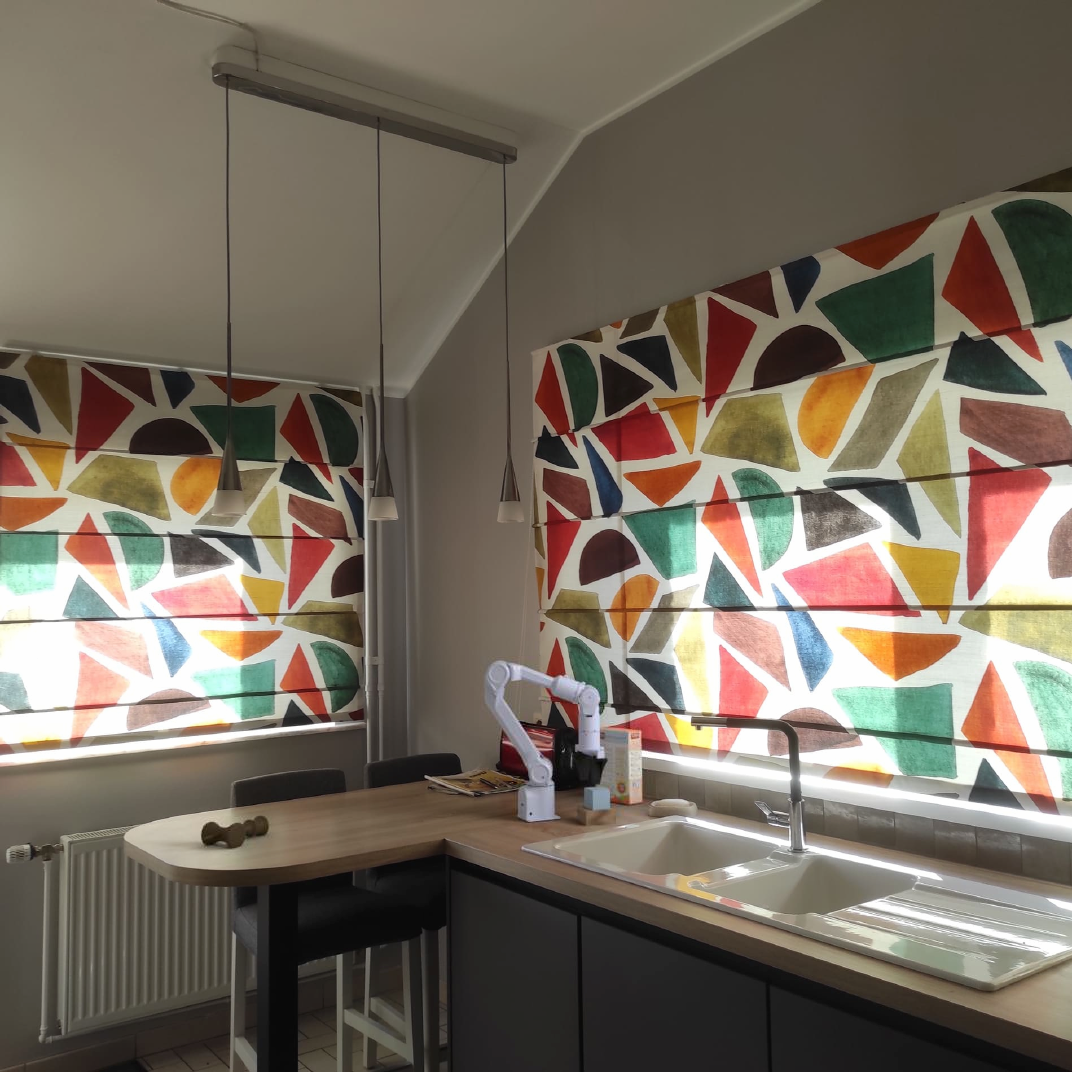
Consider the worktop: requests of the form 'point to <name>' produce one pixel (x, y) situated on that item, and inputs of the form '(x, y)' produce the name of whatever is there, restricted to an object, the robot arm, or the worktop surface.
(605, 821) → the walnut block
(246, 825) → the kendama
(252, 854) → the worktop surface
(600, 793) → the slate cube
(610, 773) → the cracker box
